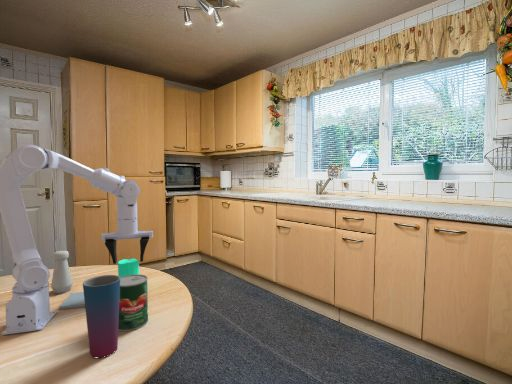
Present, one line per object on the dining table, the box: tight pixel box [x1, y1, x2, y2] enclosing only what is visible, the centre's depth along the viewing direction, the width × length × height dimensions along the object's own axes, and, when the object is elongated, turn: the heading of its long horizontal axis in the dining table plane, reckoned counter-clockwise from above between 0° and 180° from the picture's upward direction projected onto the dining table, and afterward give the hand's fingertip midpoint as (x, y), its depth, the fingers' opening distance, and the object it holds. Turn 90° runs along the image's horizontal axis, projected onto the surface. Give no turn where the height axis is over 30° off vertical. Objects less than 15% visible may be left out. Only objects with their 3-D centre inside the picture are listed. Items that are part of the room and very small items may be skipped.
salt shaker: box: [50, 250, 74, 295], centre depth 92 cm, size 6×6×13 cm
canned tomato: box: [118, 274, 149, 332], centre depth 71 cm, size 8×8×11 cm
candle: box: [117, 256, 140, 277], centre depth 89 cm, size 6×6×12 cm
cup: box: [82, 274, 120, 358], centre depth 59 cm, size 7×7×15 cm
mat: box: [59, 291, 85, 311], centre depth 85 cm, size 10×10×1 cm
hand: (128, 262), depth 89 cm, fingers open, 7 cm apart
